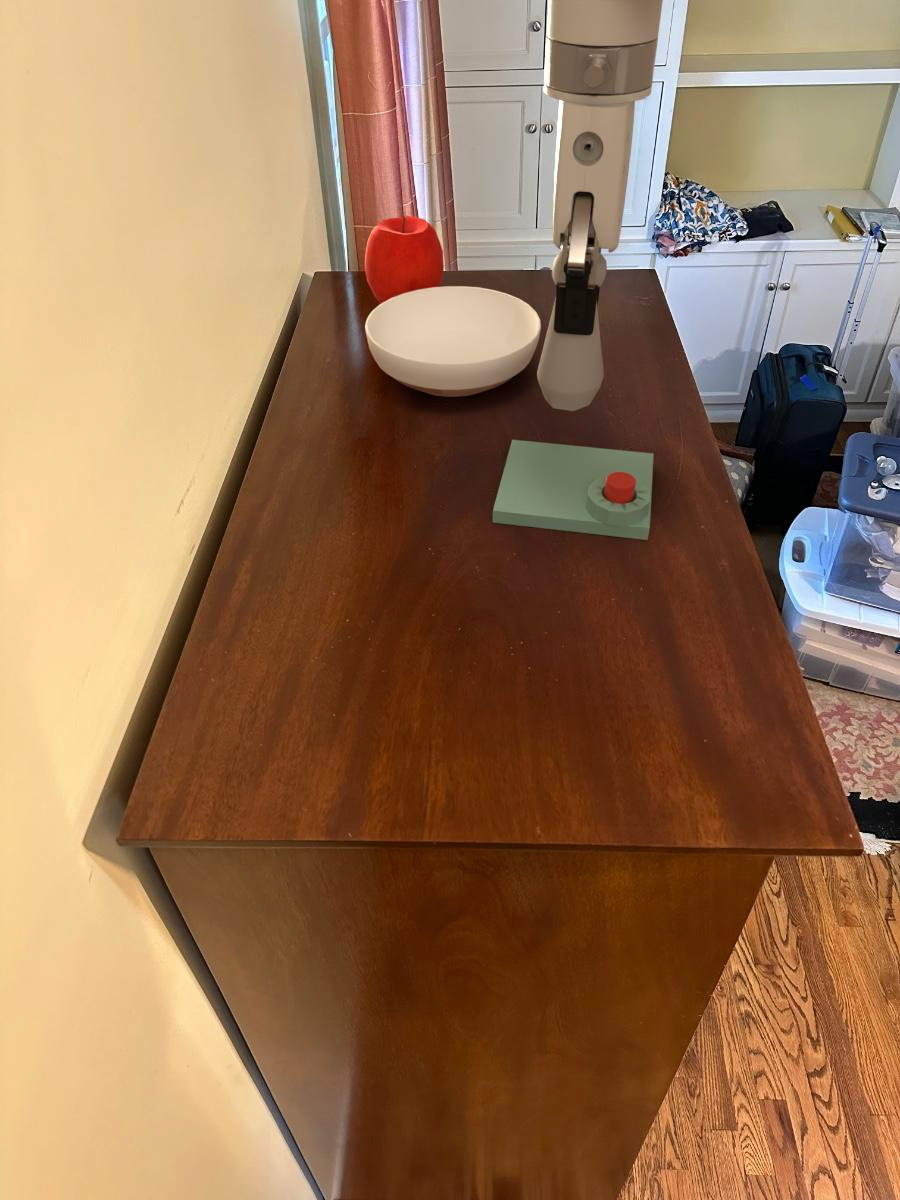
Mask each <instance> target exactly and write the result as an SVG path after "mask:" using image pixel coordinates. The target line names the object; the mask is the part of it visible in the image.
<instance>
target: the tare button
mask: <svg viewBox="0 0 900 1200" xmlns="http://www.w3.org/2000/svg"><path fill="white" fill-rule="evenodd" d="M635 485H636V480H635V478H634V477H633V476H632V475H630V474H628V473H625V472H614V473H611V474H609V475H608V476H607V478H606V485H605V492H604V496H605V498H606V499H607V500H608V501H610V502H612V503H619V504H625V503H629V502H631V501H632V500H633V498H634V492H635Z"/></svg>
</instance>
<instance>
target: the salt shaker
mask: <svg viewBox="0 0 900 1200" xmlns="http://www.w3.org/2000/svg"><path fill="white" fill-rule="evenodd" d="M561 257H562V251H560V252H559V253H558V254H557V255H556V256H555V258H554V259H553V264H552V268H551V277H552V280H553V282H554V284H555V285H556V286H557V282H559V280H560V268H561ZM590 260H591V255H586V261H589V263H590ZM607 264H608V263H607V260H606V258H605V257H604V256H603V254H602V252H601V253H598V262H597V271H596V280H595V285H598V287H600V288H601V286H603V283H604V281H605V279H606V276H607V272H608V267H607ZM555 303H556V296H555V297H554V302H553V305H552V309H551V310H552V311H551V313H550V314H551V315H550V317H549V322H548V327H547V331H546V335H545V339H544V342H543V346H542V351H541V355H540V358H539V363H538V367H537V372H536V377H537V381H538V384H539V387H540V391H541V392H542V396H543V399H544V400H545V401H546V402H547V403H548V404H549V405H550V407H551V408H552V409H556V410H564V411H569V412H574V411H578V410H580V409H583V408H585V407H588V406H590V405H591V403H592V401H593V400H594V398H595V396H596V395H597V393H598V392H599V390H600V388H601V386H602V383H603V381H604V376H605V369H604V361H603V360H604V359H603V351H602V341H601V330H600V319H599V309H598V306H597V302H596V311H595V321H594V329H593V333H592V334H591V335H575V334H562V333H556V332H555V331H554V317H555Z"/></svg>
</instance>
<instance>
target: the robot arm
mask: <svg viewBox="0 0 900 1200" xmlns="http://www.w3.org/2000/svg"><path fill="white" fill-rule="evenodd" d="M662 8H663V0H548V7H547V27H546V39H545V57H544V75H543V77H544V78H543V93H544V94H545V95H546V96H548V97H550V98H552V99H554V100H555V99H556V100H558V101H559V102H558V117H557V129H556V143H555V144H556V146H555V162H554V163H555V164H554V183H553V184H554V185H553V208H552V209H553V211H552V212H553V213H552V217H553V218H552V243H553V245H554V246H555V247H556V248H557V249H558V250H561V252H562V257H561V268H560V280H559V282H557V285H556V288H555V289H556V291H555V297H556V303H555V317H554V331H555V332H556V333H562V334H575V335H591V334H592V333H593V329H594V321H595V311H596V302H597V307H598V306H599V299H600V291H601V290H600V289H601V286H600V287H598V285H595V280H596V271H597V262H598V253H601V254H602V250H608V253H613V252H614V251H616V250H617V249H618V247H619V243H620V239H621V238H620V237H621V231H622V225H623V217H624V211H625V202H626V195H627V186H628V179H629V172H630V171H629V169H630V163H631V153H632V147H633V146H632V145H633V136H634V123H635V107H636V101H637V102H638V101H641V100H644V99H646V98H647V97H649V96H650V95H651V94H652V89H653V81H654V73H655V64H656V57H657V49H658V43H659V42H658V41H659V34H660V33H659V32H660V24H661V17H662ZM586 255H591V260H590V263H589V261H586Z"/></svg>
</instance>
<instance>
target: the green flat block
mask: <svg viewBox="0 0 900 1200" xmlns="http://www.w3.org/2000/svg"><path fill="white" fill-rule="evenodd" d="M614 472H625V473H628V474H630V475H632V476H633V477H634V478H635V480H636V485H635V492H634V498H633V500H632V501H631V502H629V503H625V504H619V503H612V502H610V501H608V500H607V499H606V498H605V496H604V492H605V485H606V478H607V476H608V475H609V474H611V473H614ZM653 472H654V453H653V452H652V453H651V452H641V451H630V450H622V449H611V448H601V447H593V446H580V445H571V444H561V443H550V442H542V441H541V442H540V441H531V440H519V439H511V443H510V445H509V449H508V453H507V456H506V461H505V465H504V468H503V472H502V476H501V479H500V483H499V486H498V490H497V493H496V497H495V502H494V505H493V509H492V523H493V524H500V525H501V524H502V525H512V526H519V527H527V528H528V527H529V528H537V529H546V530H554V531H555V530H556V531H562V532H563V531H564V532H573V533H581V534H590V535H591V534H592V535H599V536H606V537H608V536H609V537H617V538H625V539H635V540H642V541H643V540H644V541H648V540H649V535H650V529H651V514H652V513H651V512H652V494H653V493H652V492H653V474H654V473H653Z"/></svg>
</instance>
